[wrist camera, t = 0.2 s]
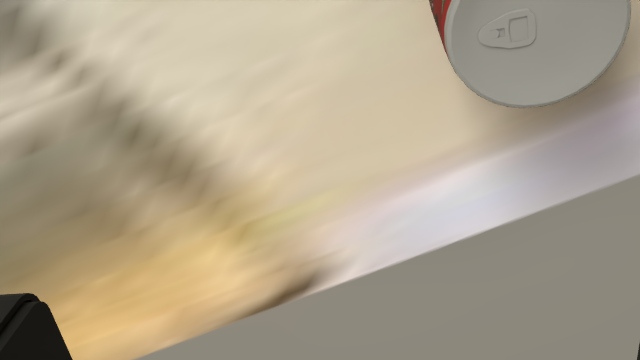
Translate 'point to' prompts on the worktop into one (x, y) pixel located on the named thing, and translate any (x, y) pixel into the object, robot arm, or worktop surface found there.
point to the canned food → (531, 45)
